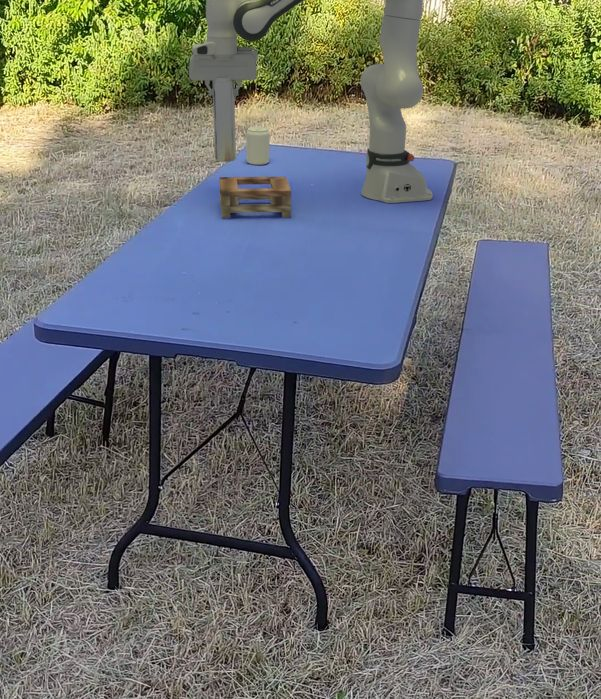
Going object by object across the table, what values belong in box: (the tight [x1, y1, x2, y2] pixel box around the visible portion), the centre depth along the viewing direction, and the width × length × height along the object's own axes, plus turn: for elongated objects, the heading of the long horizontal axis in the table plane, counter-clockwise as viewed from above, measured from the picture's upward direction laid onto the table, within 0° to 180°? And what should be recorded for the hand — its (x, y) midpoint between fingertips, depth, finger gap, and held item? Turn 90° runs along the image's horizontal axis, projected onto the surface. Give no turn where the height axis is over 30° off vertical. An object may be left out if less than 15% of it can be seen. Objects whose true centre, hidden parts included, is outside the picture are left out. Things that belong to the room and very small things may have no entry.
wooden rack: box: [218, 176, 292, 219], centre depth 252 cm, size 20×15×8 cm
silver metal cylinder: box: [211, 78, 237, 163], centre depth 260 cm, size 6×6×25 cm
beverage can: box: [245, 126, 270, 166], centre depth 301 cm, size 8×8×12 cm
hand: (223, 95), depth 256 cm, fingers closed on silver metal cylinder, 6 cm apart
